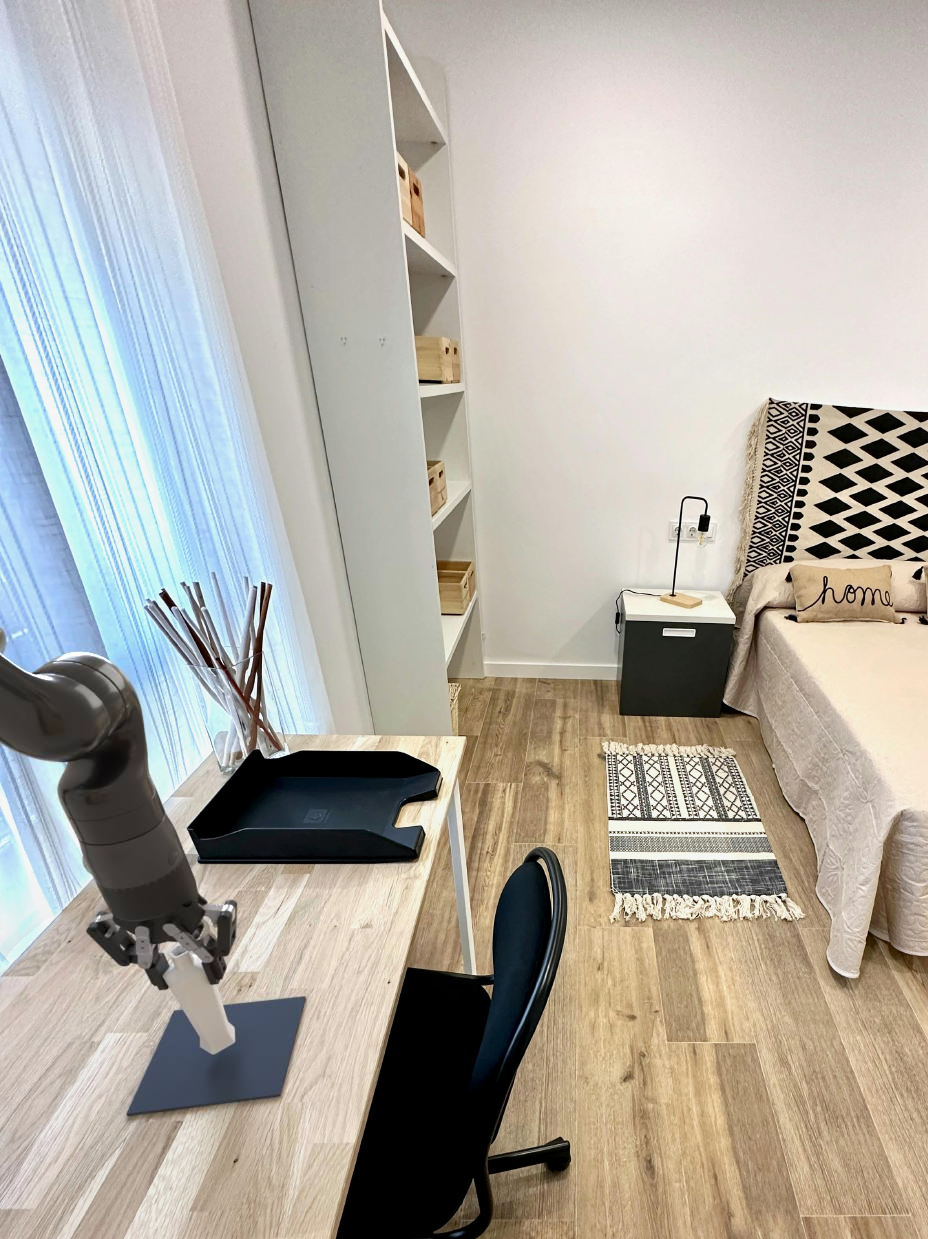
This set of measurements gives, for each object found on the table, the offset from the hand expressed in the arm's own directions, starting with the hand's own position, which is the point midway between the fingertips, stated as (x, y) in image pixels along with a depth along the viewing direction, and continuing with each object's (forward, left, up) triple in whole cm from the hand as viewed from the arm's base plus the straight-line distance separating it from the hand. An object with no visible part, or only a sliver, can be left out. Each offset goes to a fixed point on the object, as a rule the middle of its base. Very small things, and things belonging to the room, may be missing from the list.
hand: (192, 980), depth 72 cm
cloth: (0, 0, -13) cm, 13 cm away
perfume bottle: (0, 0, -11) cm, 11 cm away
